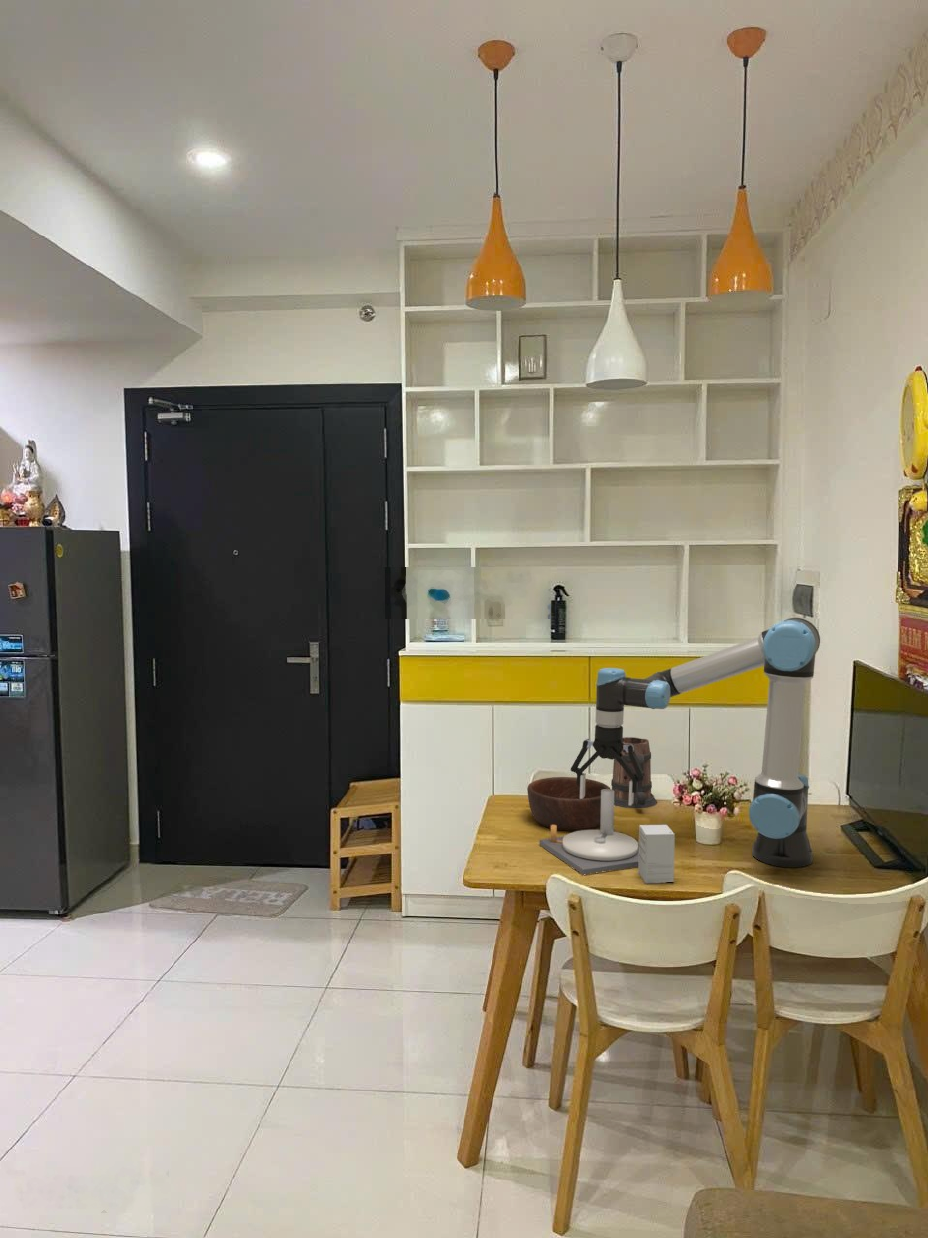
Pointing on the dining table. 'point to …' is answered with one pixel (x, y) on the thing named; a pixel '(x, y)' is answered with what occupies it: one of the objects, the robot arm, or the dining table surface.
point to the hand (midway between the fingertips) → (606, 800)
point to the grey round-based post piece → (601, 837)
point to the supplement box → (656, 853)
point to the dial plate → (582, 864)
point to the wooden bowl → (566, 803)
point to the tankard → (622, 779)
